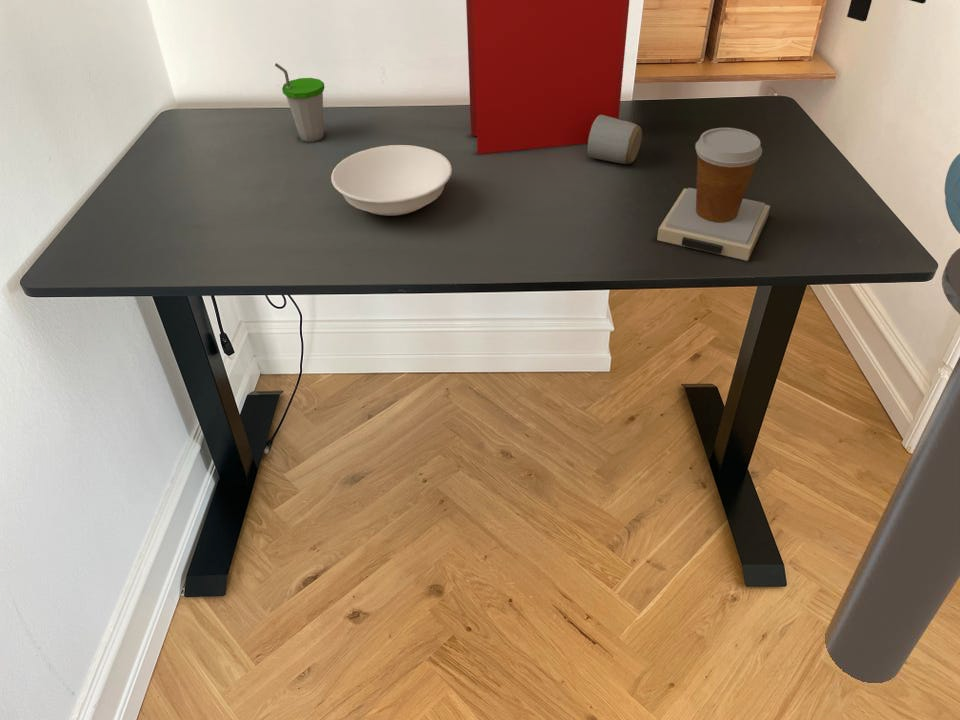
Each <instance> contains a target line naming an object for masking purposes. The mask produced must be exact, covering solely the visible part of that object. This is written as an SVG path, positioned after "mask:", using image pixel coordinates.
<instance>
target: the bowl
mask: <svg viewBox="0 0 960 720" xmlns="http://www.w3.org/2000/svg"><path fill="white" fill-rule="evenodd" d="M452 172H453V167H452V165H451V162H450V161H449V159H448V158H447V157H446V156H444V155H443V154H442V153H440V152H438V151H436V150H434V149H430V148H428V147H423V146H419V145H410V144H409V145H408V144H391V145H381V146H376V147H371V148H367V149H364V150H360V151H358V152H355V153H353V154H350V155H349V156H347V157H345V158H343V159H342V160H341V161H340V162H339V163H337V164H336V166H335V167H334V168H333V170H332V173H331V176H330V179H331V184H332V185H333V187H334V188H335V190H337V191H338V192H339V193H340V194H342V196H343V198H344V200H345V201H346V202H347V203H348V204H349V205H350V206H352V207H354V208H355V209H358V210H361V211H365V212H368V213H371V214H373V215H379V216H386V217H387V216H401V215H406V214H410V213H413V212H416V211H419V210H421V209H422V208H423V207H425V206H427V205H429V204H431V203H433V202H434V201H435V200H437V199H438V198H439V197H440V196H441V195H442V194H443V191H444V189H445V185H446V183H448V181H449V180H450V178H451V177H452V175H453V174H452Z"/></svg>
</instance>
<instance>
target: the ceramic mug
mask: <svg viewBox="0 0 960 720" xmlns="http://www.w3.org/2000/svg"><path fill="white" fill-rule="evenodd" d="M642 137H643V130H642V128H641V126H640V125H638V124H636V123H634V122H631V121H627V120H623V119H616V118H612V117H608V116H605V115H599V116H598V117H597V118H596V119H595V121H594V123H593V125H592V127H591V131H590V134H589V139H588V143H587V156H588V157H589V158H590V159H596V160H601V161H605V162H612V163H616V164H621V165H630V164H633V162H634V161H635V160H636V158H637V156H638V154H639V151H640V147H641V144H642Z"/></svg>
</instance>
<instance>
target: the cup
mask: <svg viewBox="0 0 960 720" xmlns="http://www.w3.org/2000/svg"><path fill="white" fill-rule="evenodd" d="M274 67H276V68H278V70H280V71H281V72H283V74H284V77H285V83H283V85H282V87H281V90H282V95H284V96H285V98H286V100H287V103H288V105H289V108H290V111H291V114H292V118H293V120H294V124H295V126H296V130H297V132H298V135H299V139H300V140H301V141H302V142H305V143H314V142H318V141H321V140H323V139H324V136H325V127H324V126H325V125H324V123H325V122H324V97H323V96H324V91H325V83H324V81H322V80H321V79H319V78H314V77H300V78H295V79H292V80H290V77H289V74H288V73H289V72H288V70H287V69H285V68H284V67H282V66H281V65H280V64H278V63H277V62H276V63H275V64H274Z"/></svg>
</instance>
